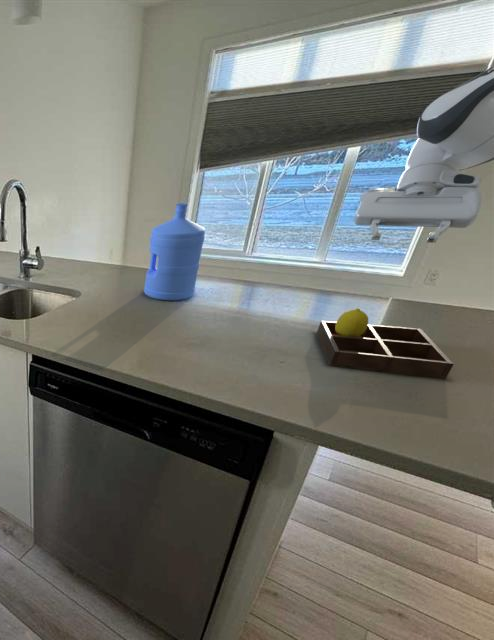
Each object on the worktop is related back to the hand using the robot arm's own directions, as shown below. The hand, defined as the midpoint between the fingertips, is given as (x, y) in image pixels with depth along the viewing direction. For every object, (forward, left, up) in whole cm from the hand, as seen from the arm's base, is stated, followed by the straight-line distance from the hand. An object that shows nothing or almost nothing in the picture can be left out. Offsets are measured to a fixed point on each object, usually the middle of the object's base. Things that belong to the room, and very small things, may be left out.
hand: (402, 239), depth 93 cm
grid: (+2, +18, -21) cm, 28 cm away
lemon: (+7, +14, -21) cm, 26 cm away
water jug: (+49, -15, -21) cm, 55 cm away
